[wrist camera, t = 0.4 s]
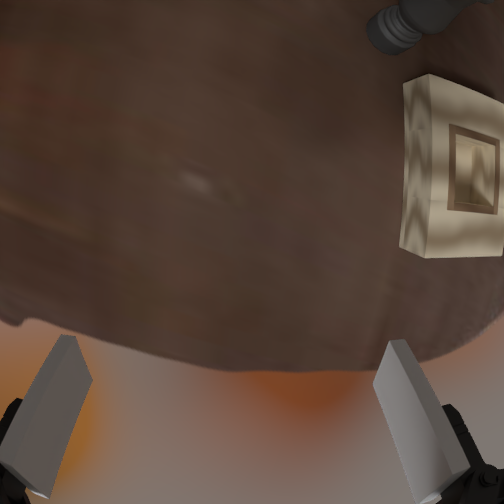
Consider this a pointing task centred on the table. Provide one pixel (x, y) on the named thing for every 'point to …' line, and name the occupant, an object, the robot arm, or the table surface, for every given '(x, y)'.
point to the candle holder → (412, 22)
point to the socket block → (452, 171)
